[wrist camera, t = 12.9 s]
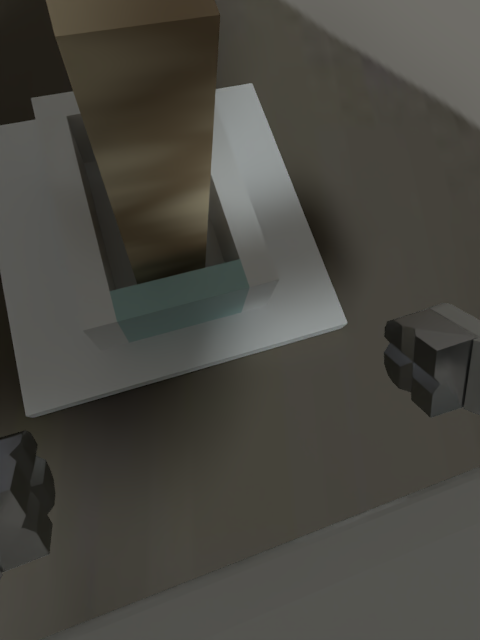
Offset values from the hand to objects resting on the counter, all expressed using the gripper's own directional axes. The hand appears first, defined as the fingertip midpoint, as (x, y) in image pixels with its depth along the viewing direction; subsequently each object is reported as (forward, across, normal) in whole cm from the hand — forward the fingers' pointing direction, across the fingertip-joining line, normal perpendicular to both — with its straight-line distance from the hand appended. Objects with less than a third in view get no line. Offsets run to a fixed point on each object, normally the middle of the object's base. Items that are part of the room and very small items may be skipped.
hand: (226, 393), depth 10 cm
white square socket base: (+13, 0, 0) cm, 13 cm away
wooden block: (+12, 0, -1) cm, 13 cm away
